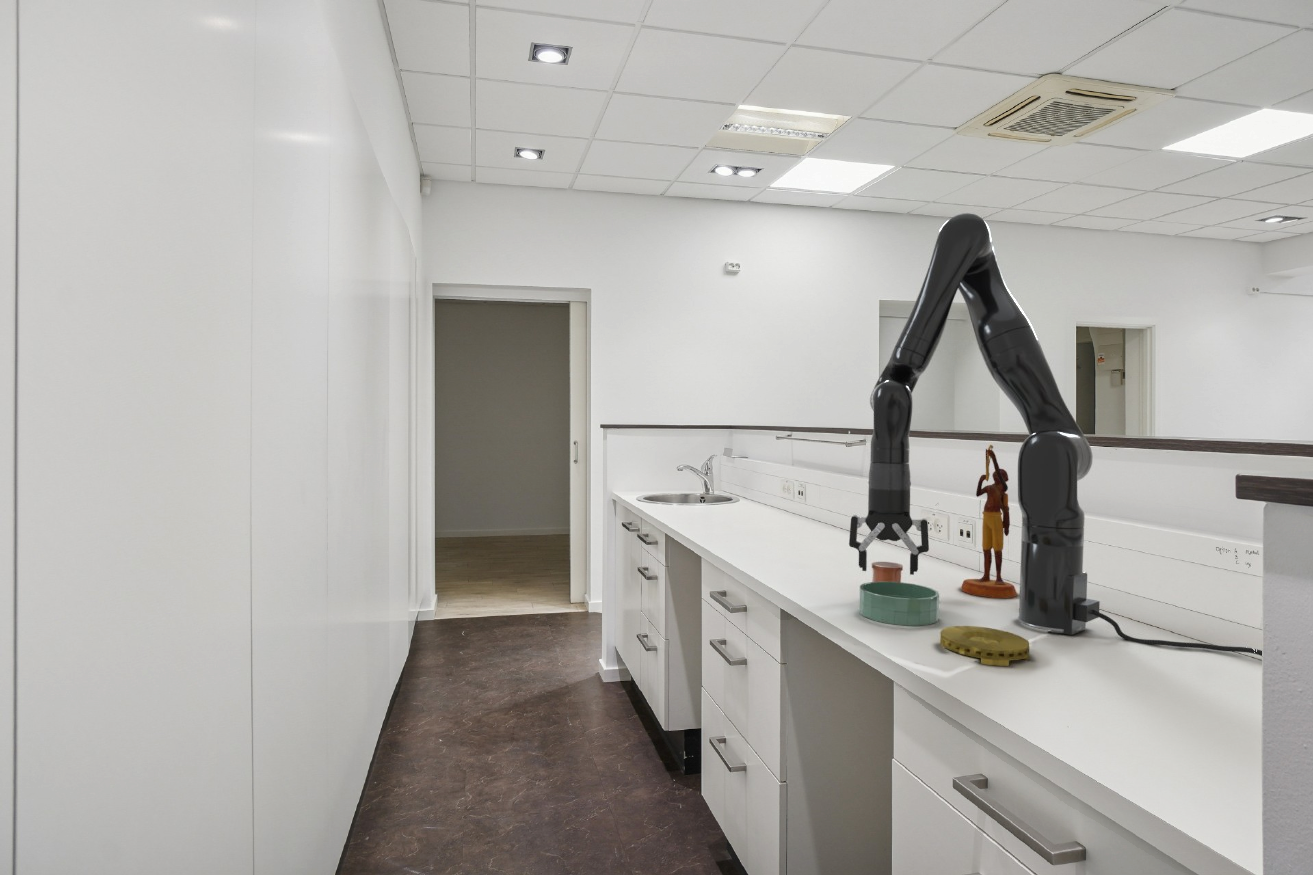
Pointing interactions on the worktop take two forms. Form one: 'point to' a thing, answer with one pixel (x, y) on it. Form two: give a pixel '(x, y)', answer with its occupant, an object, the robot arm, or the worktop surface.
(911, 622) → the bowl
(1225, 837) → the worktop surface
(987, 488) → the sculpture
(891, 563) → the orange cylinder
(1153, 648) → the worktop surface
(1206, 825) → the worktop surface
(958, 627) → the olive yellow slotted disc
